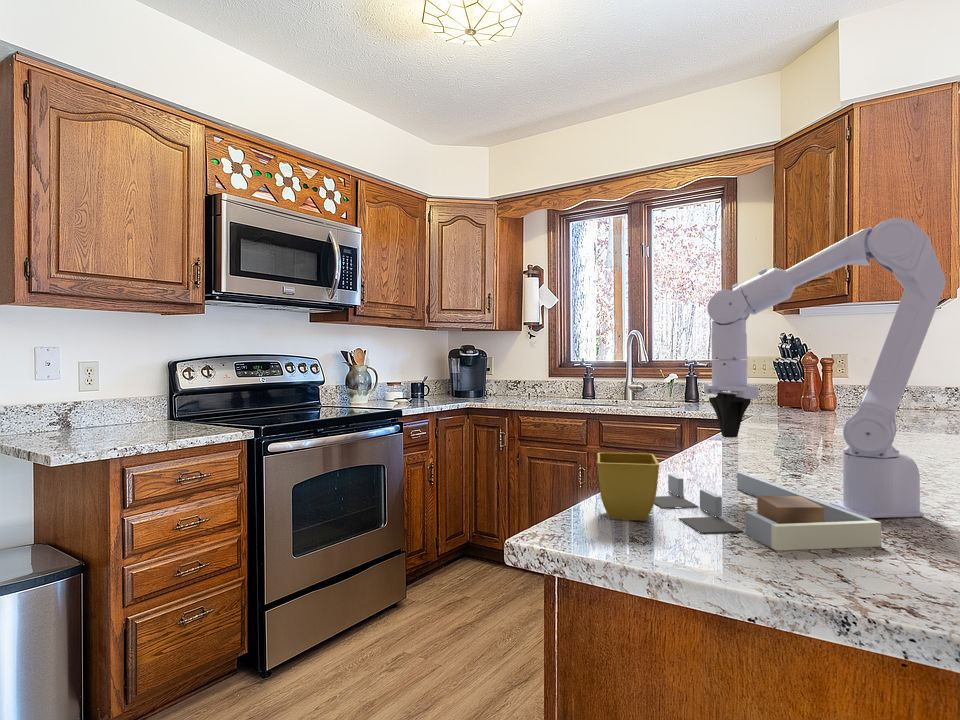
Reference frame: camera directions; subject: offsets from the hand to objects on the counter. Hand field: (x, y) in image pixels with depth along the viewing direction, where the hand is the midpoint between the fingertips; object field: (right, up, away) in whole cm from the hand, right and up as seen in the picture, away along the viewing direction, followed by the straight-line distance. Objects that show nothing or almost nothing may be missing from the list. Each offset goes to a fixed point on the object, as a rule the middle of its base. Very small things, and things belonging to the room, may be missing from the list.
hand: (729, 437), depth 100 cm
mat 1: (-12, -10, -6) cm, 17 cm away
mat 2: (-11, -10, -19) cm, 24 cm away
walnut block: (-2, -10, -23) cm, 25 cm away
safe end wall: (0, -10, -29) cm, 30 cm away
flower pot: (-22, -10, -14) cm, 28 cm away
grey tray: (-2, -10, -13) cm, 16 cm away
